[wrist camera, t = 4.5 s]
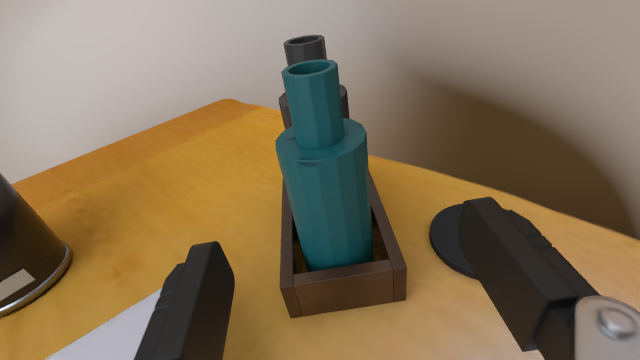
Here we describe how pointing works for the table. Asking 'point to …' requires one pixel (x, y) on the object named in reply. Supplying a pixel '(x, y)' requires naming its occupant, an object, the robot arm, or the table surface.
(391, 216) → the table surface
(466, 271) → the coaster
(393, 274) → the caddy
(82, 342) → the charger
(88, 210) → the table surface
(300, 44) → the charcoal bottle
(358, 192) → the teal bottle
